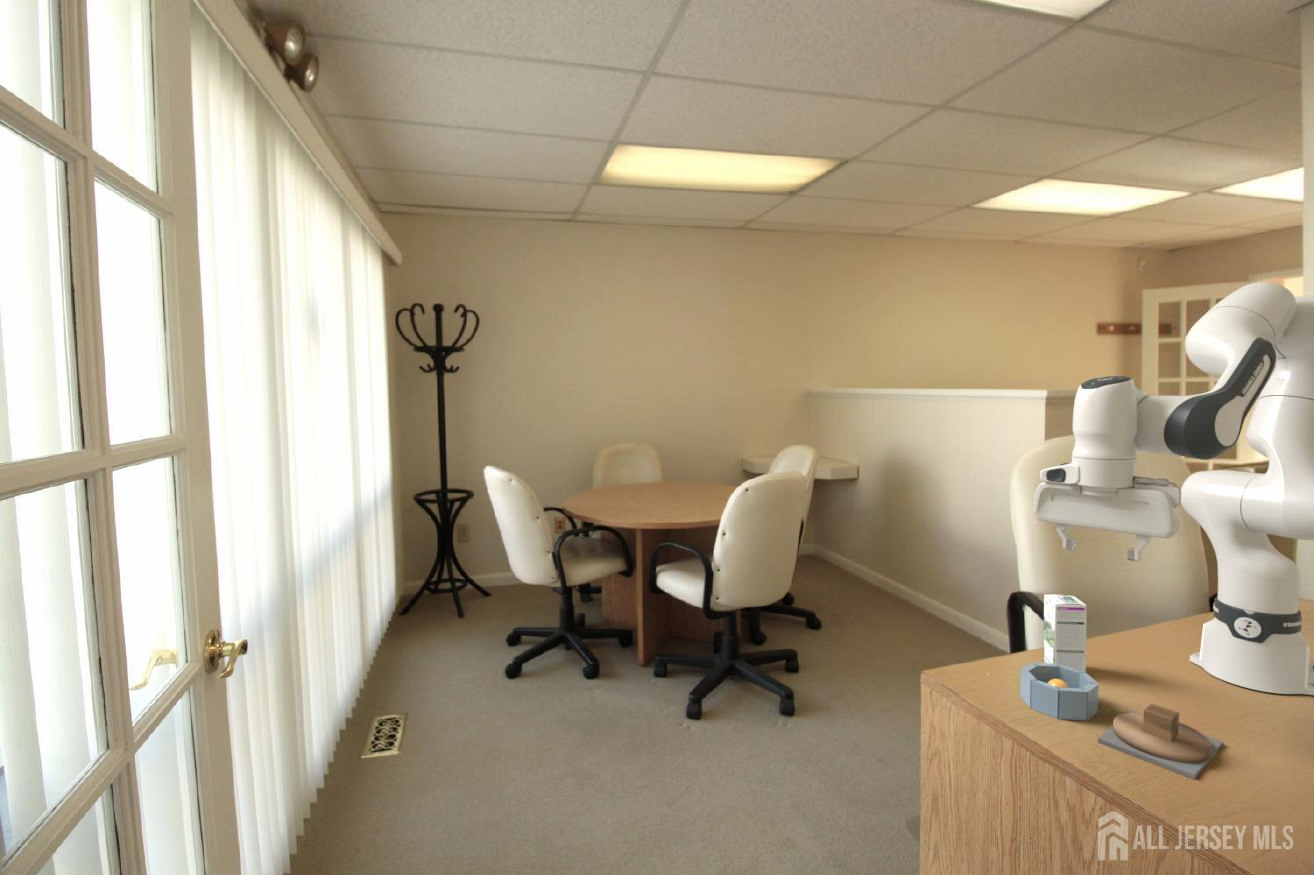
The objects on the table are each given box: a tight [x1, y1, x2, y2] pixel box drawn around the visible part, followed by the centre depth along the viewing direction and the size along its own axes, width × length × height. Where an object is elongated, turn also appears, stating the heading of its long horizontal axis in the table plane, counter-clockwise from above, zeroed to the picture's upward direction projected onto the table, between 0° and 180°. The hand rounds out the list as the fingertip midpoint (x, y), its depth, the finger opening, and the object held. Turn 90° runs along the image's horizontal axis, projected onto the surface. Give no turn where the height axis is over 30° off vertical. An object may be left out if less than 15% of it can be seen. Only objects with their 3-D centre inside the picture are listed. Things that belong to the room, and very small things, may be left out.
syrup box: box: [1042, 593, 1088, 673], centre depth 124 cm, size 6×6×14 cm
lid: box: [1112, 703, 1211, 763], centre depth 98 cm, size 12×12×5 cm
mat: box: [1097, 710, 1224, 780], centre depth 99 cm, size 14×12×1 cm
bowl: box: [1019, 662, 1100, 721], centre depth 111 cm, size 11×11×5 cm
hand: (1100, 554), depth 106 cm, fingers open, 8 cm apart
